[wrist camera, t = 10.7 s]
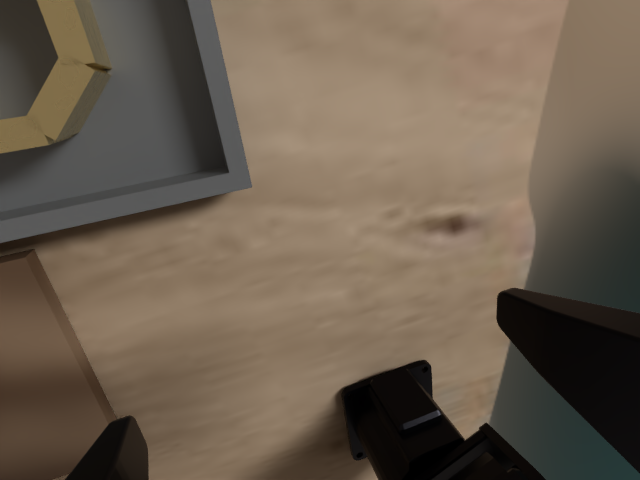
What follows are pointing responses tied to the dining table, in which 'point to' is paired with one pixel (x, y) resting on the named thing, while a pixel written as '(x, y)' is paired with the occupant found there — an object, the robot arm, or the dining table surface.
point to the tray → (121, 118)
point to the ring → (63, 79)
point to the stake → (42, 379)
